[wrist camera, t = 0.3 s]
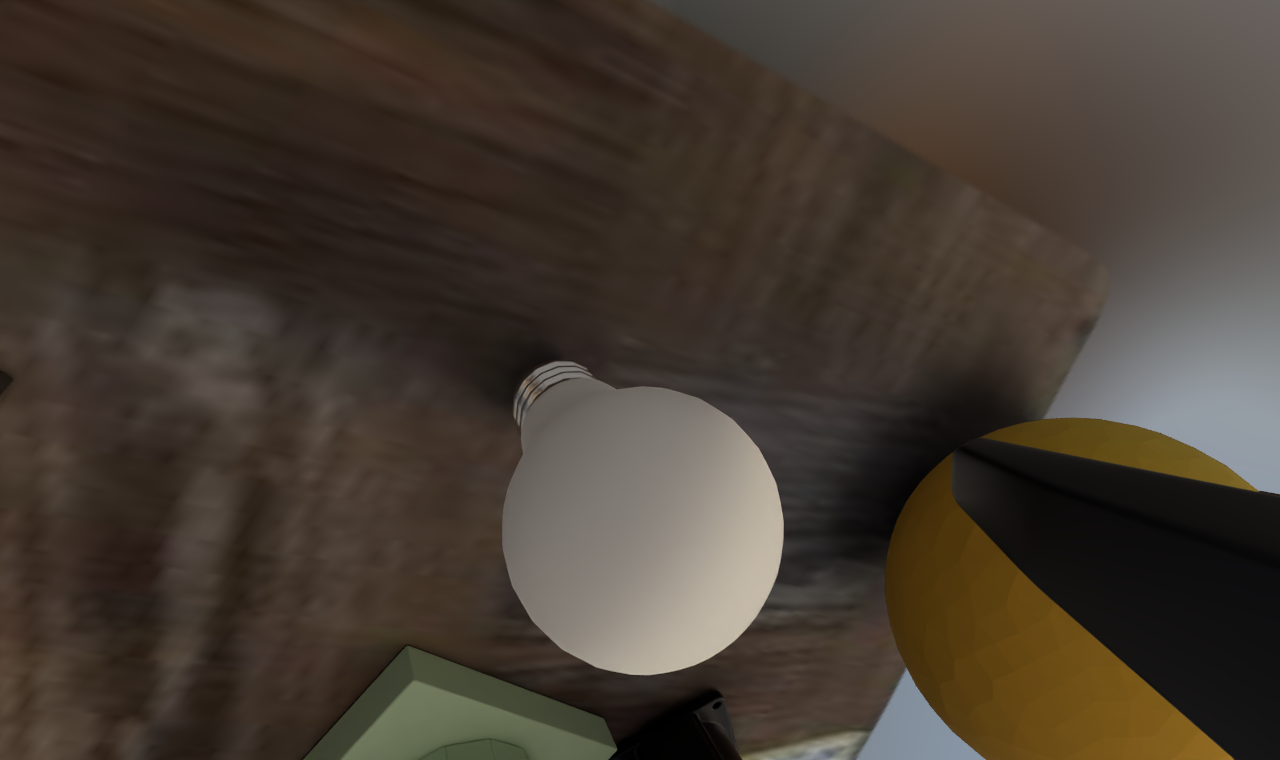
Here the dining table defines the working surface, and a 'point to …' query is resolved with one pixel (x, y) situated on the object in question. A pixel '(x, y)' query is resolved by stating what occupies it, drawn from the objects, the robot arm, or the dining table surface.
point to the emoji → (1029, 621)
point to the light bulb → (636, 521)
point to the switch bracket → (4, 382)
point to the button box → (459, 719)
